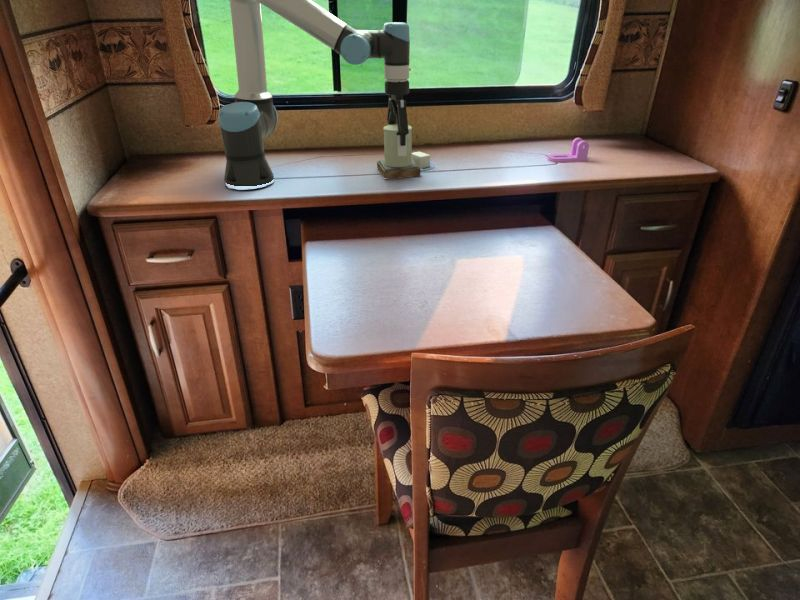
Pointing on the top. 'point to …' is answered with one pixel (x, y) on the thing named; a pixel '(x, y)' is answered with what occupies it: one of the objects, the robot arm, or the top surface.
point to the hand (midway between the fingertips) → (397, 150)
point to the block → (421, 159)
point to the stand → (398, 170)
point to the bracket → (572, 153)
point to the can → (396, 147)
